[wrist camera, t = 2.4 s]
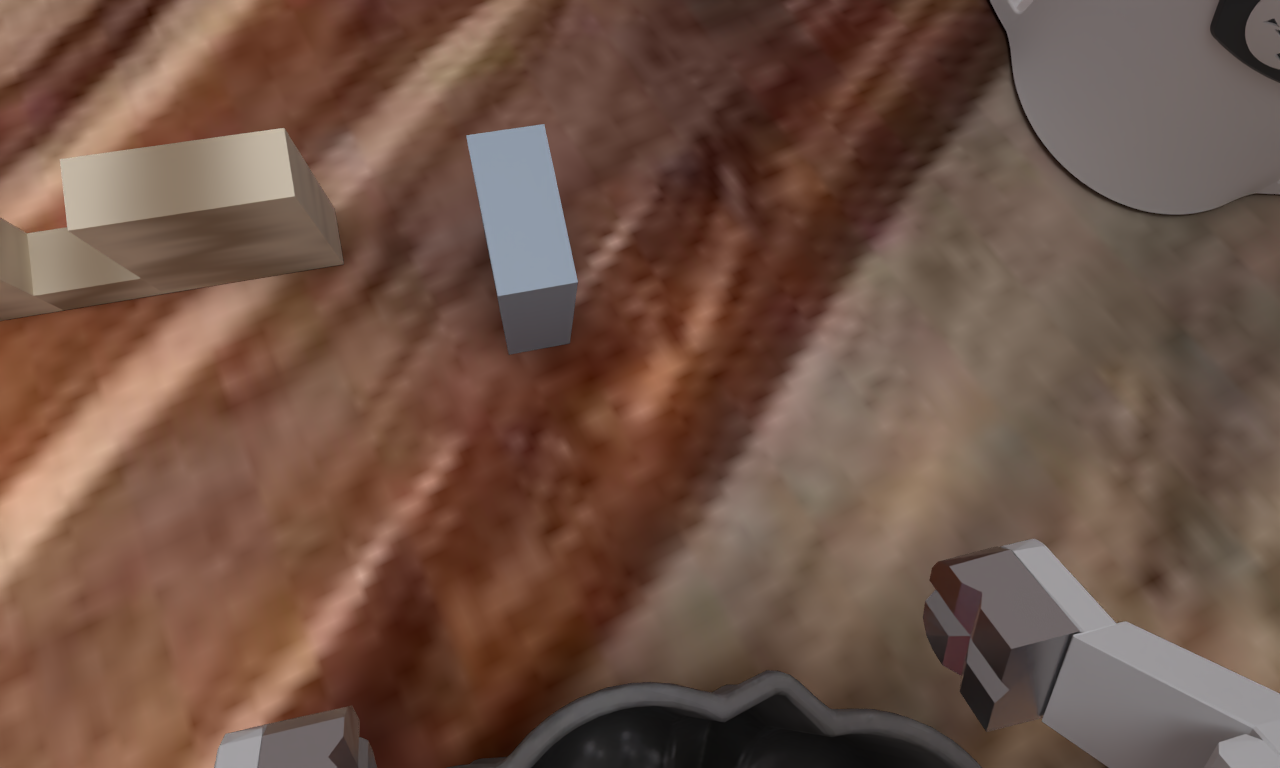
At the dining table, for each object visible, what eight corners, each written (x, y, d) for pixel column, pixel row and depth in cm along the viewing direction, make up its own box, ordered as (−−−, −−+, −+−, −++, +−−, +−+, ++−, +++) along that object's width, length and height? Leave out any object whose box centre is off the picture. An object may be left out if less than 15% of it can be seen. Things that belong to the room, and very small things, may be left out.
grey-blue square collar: (484, 229, 36) (466, 135, 27) (543, 220, 36) (544, 124, 28) (508, 354, 35) (497, 296, 26) (569, 343, 35) (577, 282, 27)
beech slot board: (-135, 343, 32) (-319, 289, 25) (-139, 281, 32) (-321, 212, 26) (343, 264, 35) (295, 196, 28) (334, 208, 35) (283, 127, 28)
